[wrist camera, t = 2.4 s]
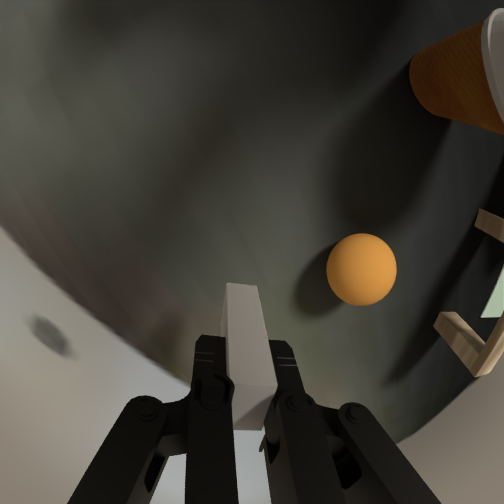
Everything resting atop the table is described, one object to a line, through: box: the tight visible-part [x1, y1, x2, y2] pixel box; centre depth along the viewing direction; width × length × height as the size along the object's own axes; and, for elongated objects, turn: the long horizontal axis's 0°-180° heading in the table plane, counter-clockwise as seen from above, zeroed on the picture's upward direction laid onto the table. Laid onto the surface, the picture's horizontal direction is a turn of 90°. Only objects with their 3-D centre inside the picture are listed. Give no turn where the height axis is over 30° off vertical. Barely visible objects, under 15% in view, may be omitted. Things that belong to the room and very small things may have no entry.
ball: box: [327, 233, 396, 306], centre depth 21 cm, size 6×6×6 cm
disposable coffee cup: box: [409, 8, 504, 135], centre depth 13 cm, size 10×10×12 cm
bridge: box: [433, 208, 504, 377], centre depth 22 cm, size 3×14×9 cm, turn 171°
